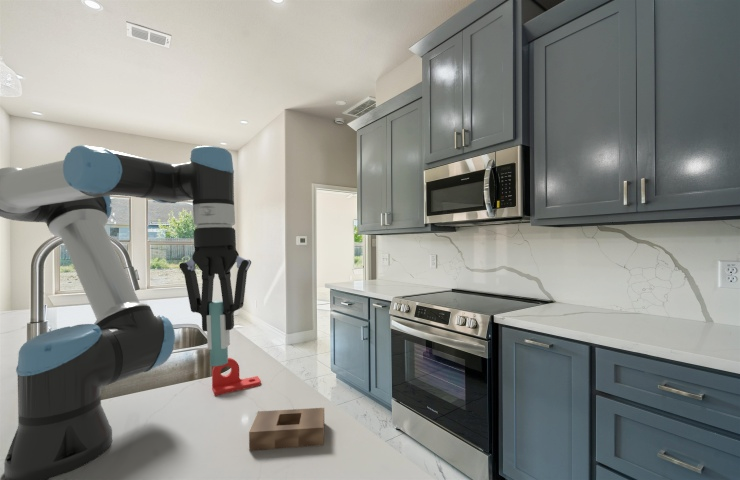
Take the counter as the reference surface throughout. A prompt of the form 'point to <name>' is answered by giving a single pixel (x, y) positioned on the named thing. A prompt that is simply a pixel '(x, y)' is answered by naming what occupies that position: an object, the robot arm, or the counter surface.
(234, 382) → the bracket
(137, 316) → the robot arm
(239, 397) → the counter surface
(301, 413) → the hole block
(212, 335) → the peg
